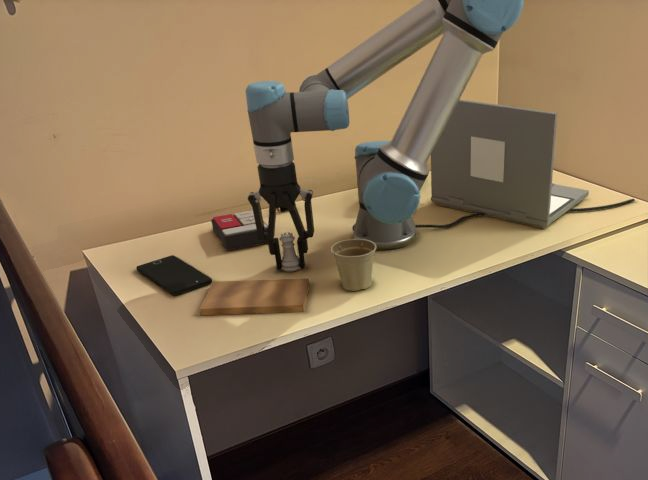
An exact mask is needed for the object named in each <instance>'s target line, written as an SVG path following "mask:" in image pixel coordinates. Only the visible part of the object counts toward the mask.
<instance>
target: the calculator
mask: <svg viewBox="0 0 648 480" xmlns="http://www.w3.org/2000/svg"><path fill="white" fill-rule="evenodd" d="M210 222H211V226H212V231H213V232H214V233H215V235H216V236H217V238H218V239H219V240H220V241H221V243H222V246H223V248H224V249H225V251H233V250H238V249H243V248H249V247H253V246H259V245H264V244H268V242H267V241H266V240H260V239H259V238H258V234H257V229H256V224H255V219H254V214H253V209H252V210H251V209H250V210H245V211H240V212H235V213H234V214H233V213H228V214H222V215H217V216H213V217H212V218H211V220H210ZM263 222H264V227H265V232H267V233H268V223H266V222H265V221H264V220H263Z"/></svg>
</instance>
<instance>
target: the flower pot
mask: <svg viewBox="0 0 648 480" xmlns="http://www.w3.org/2000/svg"><path fill="white" fill-rule="evenodd" d="M376 248H377V247H376V244H375V243H374V242H372V241H370V240H366V239H354V238H348V239H347V238H346V239H343V240H340V241H336V242H335V243H333V244H332V245H331V246H330V253H332V255H333V258H334V259H335V262H336V266H337V270H338V274H339V278H340V283H341V286H342V287H343V288H344V289H345V290H347V291H350V292H351V291H352V292H359V291H360V290H367V289H368V288H369V287H371V285H372V280H373V265H374V257H375V252H376V251H377V249H376Z"/></svg>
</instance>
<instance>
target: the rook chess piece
mask: <svg viewBox="0 0 648 480" xmlns="http://www.w3.org/2000/svg"><path fill="white" fill-rule="evenodd" d="M295 240H296V238H295V236H294V234H293V233H292V232H290V231H288V232H283V233H280V237H279V242H281V243H282V244H281V247H282V257H281V259H282V261H281V265H282V266H281V270H283V271H284V272H288V273H291V272H297V271H298V270H301V267H300V261H299V255H297V252H296V250H295V249H296V248H295V244H296V243H294V241H295Z"/></svg>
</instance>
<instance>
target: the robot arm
mask: <svg viewBox="0 0 648 480" xmlns="http://www.w3.org/2000/svg"><path fill="white" fill-rule="evenodd" d="M524 1H525V0H421V1H420V2H418V3H417V4H416V5H414V6H413V7H411V8H410V9H408V10H407V11H405V12H404V13H403V14H400V15H399V16H398V17H397V18H396V19H394V20H393V21H391V22H389V23H388V24H387V25H385V26H384V27H382V28H381V29H380V30H378V31H377V32H375V33H374V34H373V35H371V36H370V37H368V38H367V39H365V40H364V41H363V42H361V43H360V44H358V45H357V46H356V47H353V49H351V50H350V51H348V52H347V53H345V54H343V55H342V56H341V57H339V58H338V59H337V60H335V61H334V62H333V63H331V64H330V65H328V66H327V67H326V68H324V69H323V70H321V71H320V72H318V73H317V74H312V75H309V76H307V77H306V78H305V79H303V80H302V83H301V85H300V86H299V89H298V91H295V92H293V91H291V92H290V91H286V89H285V85H284V83H282V82H281V81H278V80H261V81H256V82H251V83H250V84H248V85H247V86H246V88H245V98H246V99H245V100H246V106H247V114H248V121H249V126H250V131H251V136H252V143H253V149H254V155H255V161H256V163H257V164H258V165H257V174H258V179H259V189H258V190H256V191H255V192H254V191H251V192H249V194H248V196H247V201H248V203H249V204H250V206H251V207H252V210H253V214H254V219H255V224H256V229H257V234H258V238H259V239H260V240H266V241H267V242H268V243H267V245H268V251H269V254H270V256H274V258H275V264H276V265H275V266H276V270H277V271H281V270H282V268H281V266H282V265H281V261H282V253H281V246H280V239H279V237H275V235H276V234H275V232H276V222H277V221H276V220H277V208H279V209H280V207H283V208H287V209H288V211H287V212H288V213H289V215H290V218H291V220H292V222H293V226H294V228H295V231H296V233H297V239H296V246H297V253H298V258H299V261H300V270H305V267H306V257H305V254H308V251H309V245H308V244H309V243H308V239H309V238H310V239H312V238H313V237H314V236H315V235H314V234H315V224H314V216H313V215H314V214H313V205H312V200H313V199H312V198H313V195H314V191H313V190H312V189H308V190H306V189H304V188H301V186H300V184H299V183H298V178H297V171H296V170H297V169H296V164H295V162H294V160H295V156H294V149H293V141H292V135H291V134H292V133H305V132H325V131H329V132H334V131H338V130H345V129H348V128H349V126H350V110H349V109H350V108H349V101H348V100H349V99H350V98H352V97H353V96H354V95H356V94H357V93H359V92H361V90H363V89H365V88H367V87H368V86H369V85H370V84H372V83H373V82H375V81H377V80H378V79H379V78H381V77H383V76H384V75H385V74H387V73H388V72H389V71H391V70H393V69H394V68H396V67H397V66H398V65H400V64H402V63H403V62H404V61H405V60H407V59H408V58H410V57H411V56H413V55H414V54H416V53H417V52H419V51H420V50H422V49H423V48H425V47H426V46H428V45H429V44H430V43H432V42H433V41H435V40H436V39H438V38H440V37H441V38H440V40H439V43H438V44H437V47H436V49H435V50H434V52H433V55H432V57H431V59H430V61H429V63H428V65H427V66H426V69H425V70H424V73H423V75H422V77H421V79H420V81H419V83H418V85H417V87H416V89H415V91H414V93H413V96H412V98H411V99H410V101H409V103H408V106H407V107H406V110H405V111H404V114H403V116H402V118H401V119H400V122H399V124H398V126H397V128H396V130H395V132H394V134H393V136H392V138H391V140H373V141H365V142H362V143H359V144H357V145H356V146H355V148H354V158H353V159H354V160H355V170H356V183H357V184H356V185H357V197H358V212H357V216H356V220H355V223H354V224H353V225H352V232H353V239H366V240H370V241H372V242H374V243H375V244H376V247H377V248H376V250H379V251H380V250H382V251H388V250H395V249H400V248H404V247H407V246H410V245H411V244H412V243H414V242H415V241H416V240H417V235H418V234H417V229H419V228H421V229H423V228H424V229H426V228H427V229H428V228H431V229H432V228H434V229H447V228H450V227H454V226H456V225H457V224H459V223H461V222H462V221H464V220H467V219H470V218H475V217H481V216H485V215H486V214H485V213H471V214H467V215H464V216H461V217H460V218H458V219H456V220H455V221H452V222H450V223H446V224H416V223H415V222H414V219H413V216H414V215H415V214H416V212H417V210H418V208H419V206H420V202H421V192H420V191H421V190H422V188H423V186H424V184H425V182H426V180H427V178H428V176H429V175H430V170H429V167H428V161H429V159H430V158H431V153H432V151H433V149H434V147H435V145H436V143H437V141H438V140H439V138H440V136H441V134H442V132H443V130H444V128H445V126H446V124H447V122H448V120H449V118H450V117H451V115H452V113H453V111H454V109H455V107H456V105H457V103H458V101H459V99H460V100H461V97H462V95H463V94H464V91H465V89H466V87H467V85H468V84H469V82H470V80H471V78H472V77H473V74H474V72H475V70H476V68H477V67H478V64H479V63H480V61H481V59H482V57H483V56H484V55H485V54H487V53H490V52H492V51H495V49H496V47H497V45H498V43H499V41H500V40H501V37H502V35H503V34H504V33H505V32H507V31H508V30H510V29H511V28H512V27H513V26H514V25H515V24H516V22H517V21H518V19H519V18H520V16H521V14H522V12H523V7H524ZM299 196H300V197H301V200H302V201H303V202H304V203H303V206H304V215H305V223H306V229H305V226H304V224H303V221H302V218H301V216H300V213H299V210H298V208H297V204H296V201H297V199H298V197H299ZM261 198H262V199H263V200H264V201H265V202H266V203H267V204H268V219H267V220H268V223H267V225H268V233H267V232H265V227H264V222H265V221H264V218H263V211H262V206H261ZM635 201H636V200H635V198H630V199H627V200H624V201H620V202H616V203H612V204H611V203H610V204H608V205H607V204H606V205H601V206H600V205H599V206H593V207H581V208H571V209H570V210H568V211H567V212H566V213H568V212H569V213H574V212H587V211H597V210H604V209H611V208H614V207H619V206H623V205H626V204H630V203H633V202H635ZM263 221H264V222H263Z"/></svg>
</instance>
